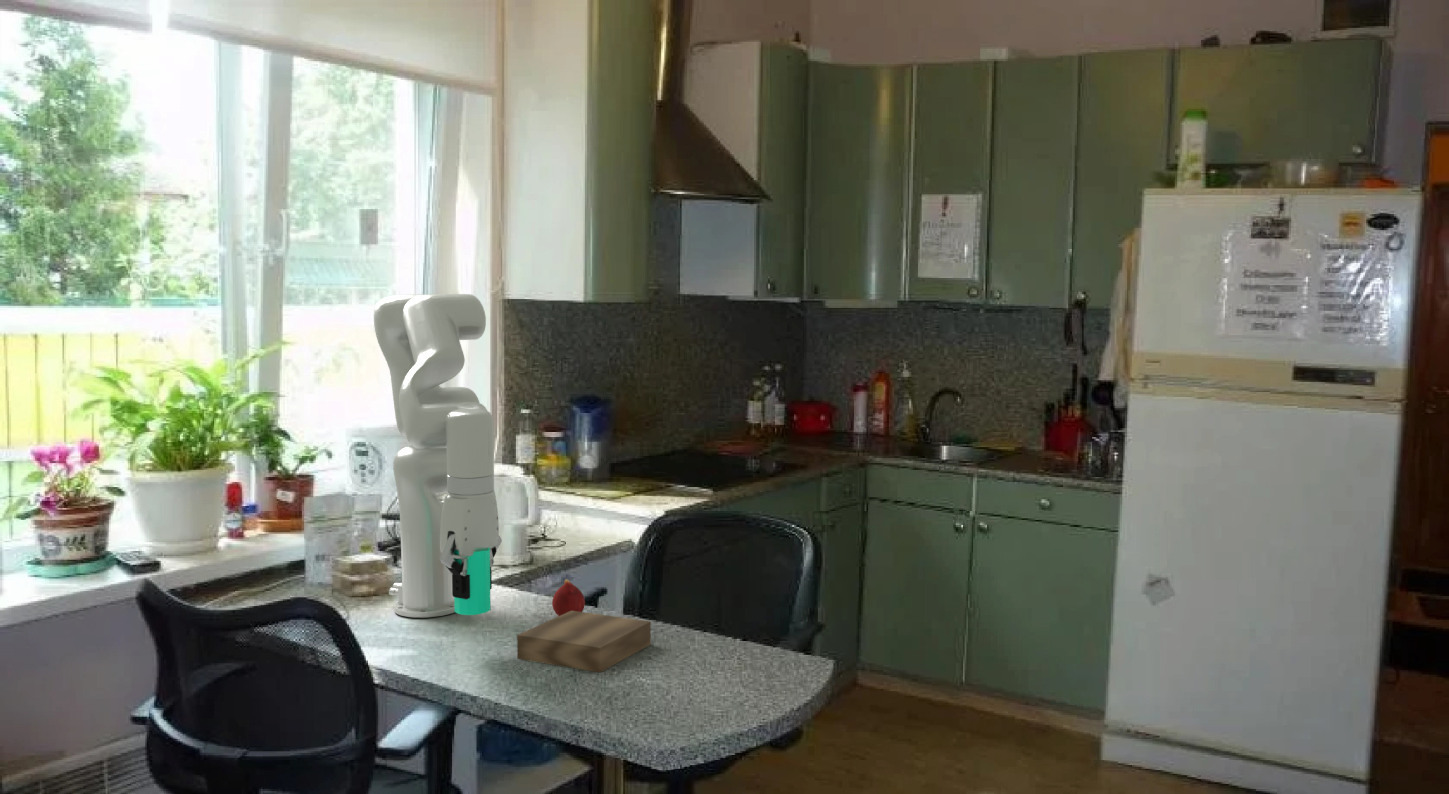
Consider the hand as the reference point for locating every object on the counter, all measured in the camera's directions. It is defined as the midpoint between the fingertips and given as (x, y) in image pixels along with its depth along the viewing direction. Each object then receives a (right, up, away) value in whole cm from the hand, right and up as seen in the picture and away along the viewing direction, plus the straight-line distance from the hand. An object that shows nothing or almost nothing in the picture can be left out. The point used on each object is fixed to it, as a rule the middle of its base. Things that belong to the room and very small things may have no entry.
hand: (472, 592), depth 191 cm
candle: (0, -3, 0) cm, 3 cm away
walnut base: (+18, -10, +2) cm, 21 cm away
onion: (+13, -9, +19) cm, 25 cm away
